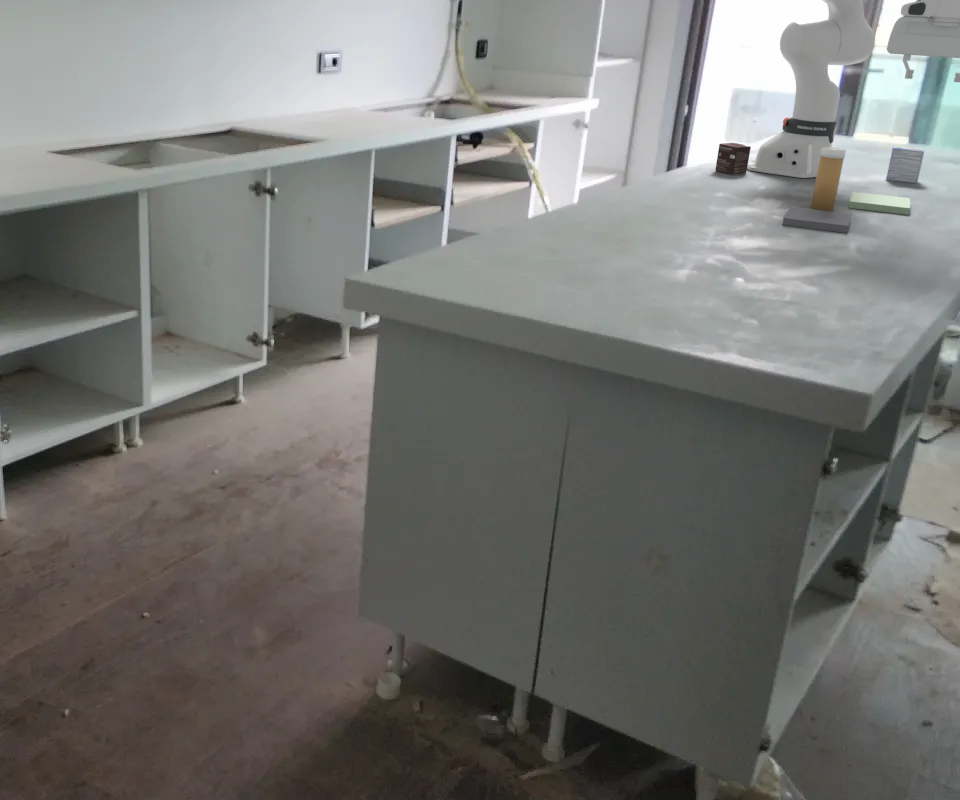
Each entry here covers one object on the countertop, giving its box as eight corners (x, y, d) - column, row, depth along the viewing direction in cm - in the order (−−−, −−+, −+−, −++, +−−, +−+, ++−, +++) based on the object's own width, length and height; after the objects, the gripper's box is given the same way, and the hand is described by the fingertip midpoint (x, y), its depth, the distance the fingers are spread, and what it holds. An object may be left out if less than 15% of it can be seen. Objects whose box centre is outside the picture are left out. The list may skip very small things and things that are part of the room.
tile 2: (848, 207, 224) (849, 201, 223) (851, 197, 235) (852, 191, 234) (908, 214, 220) (910, 208, 219) (908, 204, 231) (909, 198, 230)
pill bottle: (809, 209, 220) (820, 149, 214) (811, 205, 224) (822, 146, 219) (833, 212, 218) (845, 152, 213) (834, 208, 222) (846, 149, 217)
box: (714, 171, 261) (718, 143, 258) (729, 169, 264) (733, 142, 261) (732, 175, 256) (736, 147, 254) (747, 173, 260) (751, 145, 257)
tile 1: (782, 224, 204) (783, 217, 203) (788, 213, 215) (789, 206, 214) (847, 233, 200) (848, 225, 199) (850, 220, 211) (851, 214, 210)
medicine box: (917, 181, 261) (925, 148, 258) (917, 184, 258) (924, 151, 254) (886, 178, 264) (893, 145, 261) (885, 180, 261) (892, 147, 257)
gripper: (1004, 11, 195) (986, 83, 200) (895, 5, 201) (881, 75, 207) (1006, 11, 189) (989, 85, 194) (895, 5, 196) (880, 77, 201)
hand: (932, 80), depth 201 cm, fingers open, 8 cm apart
